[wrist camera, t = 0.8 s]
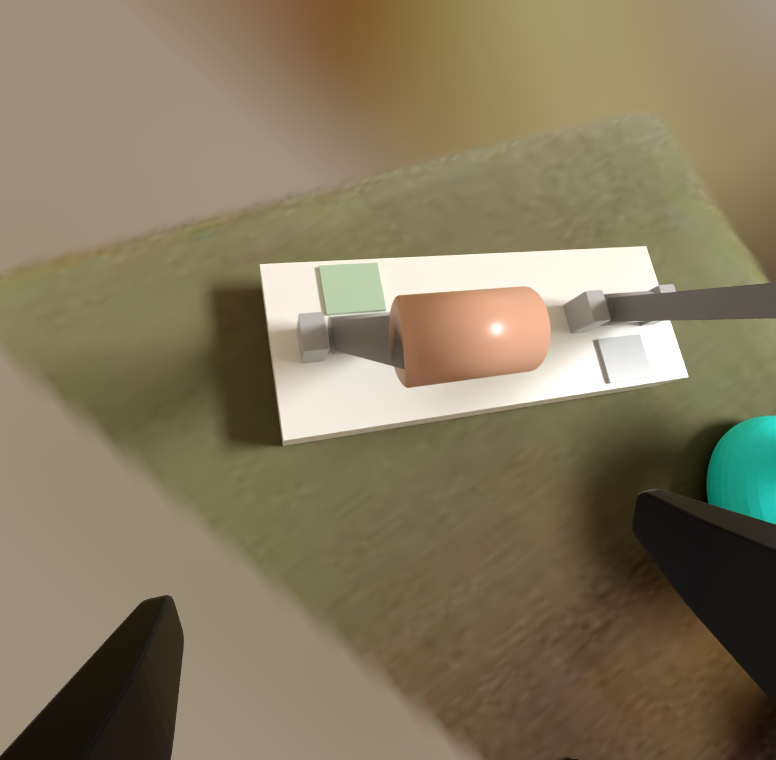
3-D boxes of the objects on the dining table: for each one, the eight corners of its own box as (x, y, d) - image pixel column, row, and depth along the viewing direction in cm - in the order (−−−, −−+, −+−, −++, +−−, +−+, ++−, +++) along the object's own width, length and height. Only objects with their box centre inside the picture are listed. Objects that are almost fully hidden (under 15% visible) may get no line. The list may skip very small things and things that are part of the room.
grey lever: (633, 324, 24) (941, 321, 13) (589, 329, 23) (878, 329, 12) (633, 288, 24) (947, 253, 13) (588, 292, 23) (882, 258, 12)
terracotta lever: (394, 351, 20) (552, 375, 9) (330, 358, 19) (422, 394, 8) (390, 307, 20) (549, 281, 9) (325, 312, 19) (415, 291, 8)
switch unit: (651, 386, 26) (720, 368, 22) (282, 445, 20) (283, 436, 16) (614, 266, 28) (672, 229, 24) (261, 288, 22) (258, 243, 18)
